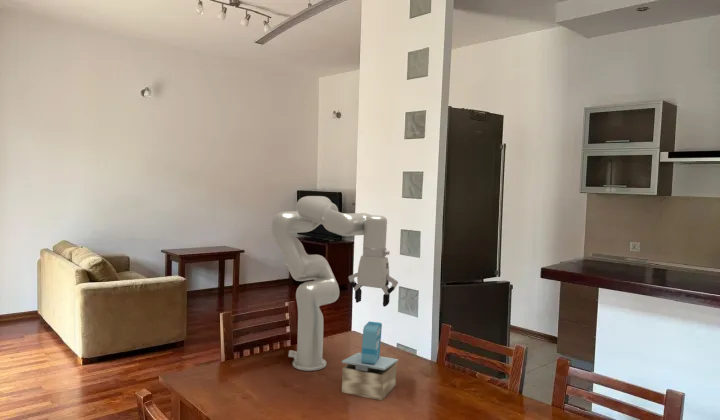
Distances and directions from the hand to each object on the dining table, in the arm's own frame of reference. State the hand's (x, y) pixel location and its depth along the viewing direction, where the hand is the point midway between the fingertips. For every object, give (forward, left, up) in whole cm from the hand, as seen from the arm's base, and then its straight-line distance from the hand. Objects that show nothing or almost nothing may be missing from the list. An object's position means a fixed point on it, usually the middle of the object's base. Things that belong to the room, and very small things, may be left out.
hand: (371, 303), depth 169 cm
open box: (0, 0, -29) cm, 29 cm away
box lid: (0, -1, -21) cm, 21 cm away
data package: (0, 0, -19) cm, 19 cm away
